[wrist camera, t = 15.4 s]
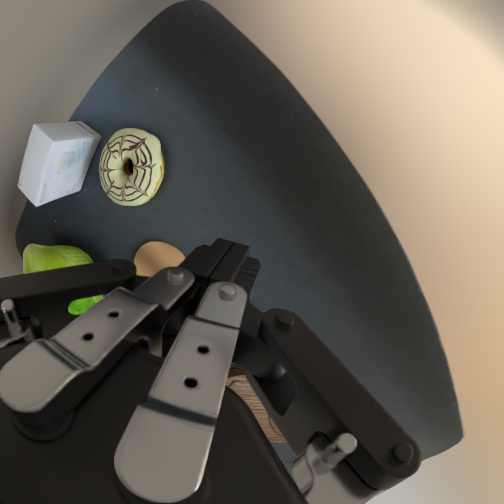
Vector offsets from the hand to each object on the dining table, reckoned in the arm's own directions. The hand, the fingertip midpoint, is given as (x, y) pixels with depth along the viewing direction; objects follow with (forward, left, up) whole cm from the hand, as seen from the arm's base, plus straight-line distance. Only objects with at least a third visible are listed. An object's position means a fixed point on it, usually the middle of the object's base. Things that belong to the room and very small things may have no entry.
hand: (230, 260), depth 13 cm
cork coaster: (+19, -10, -22) cm, 31 cm away
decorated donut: (+5, -19, -22) cm, 30 cm away
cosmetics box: (+8, -31, -22) cm, 39 cm away
